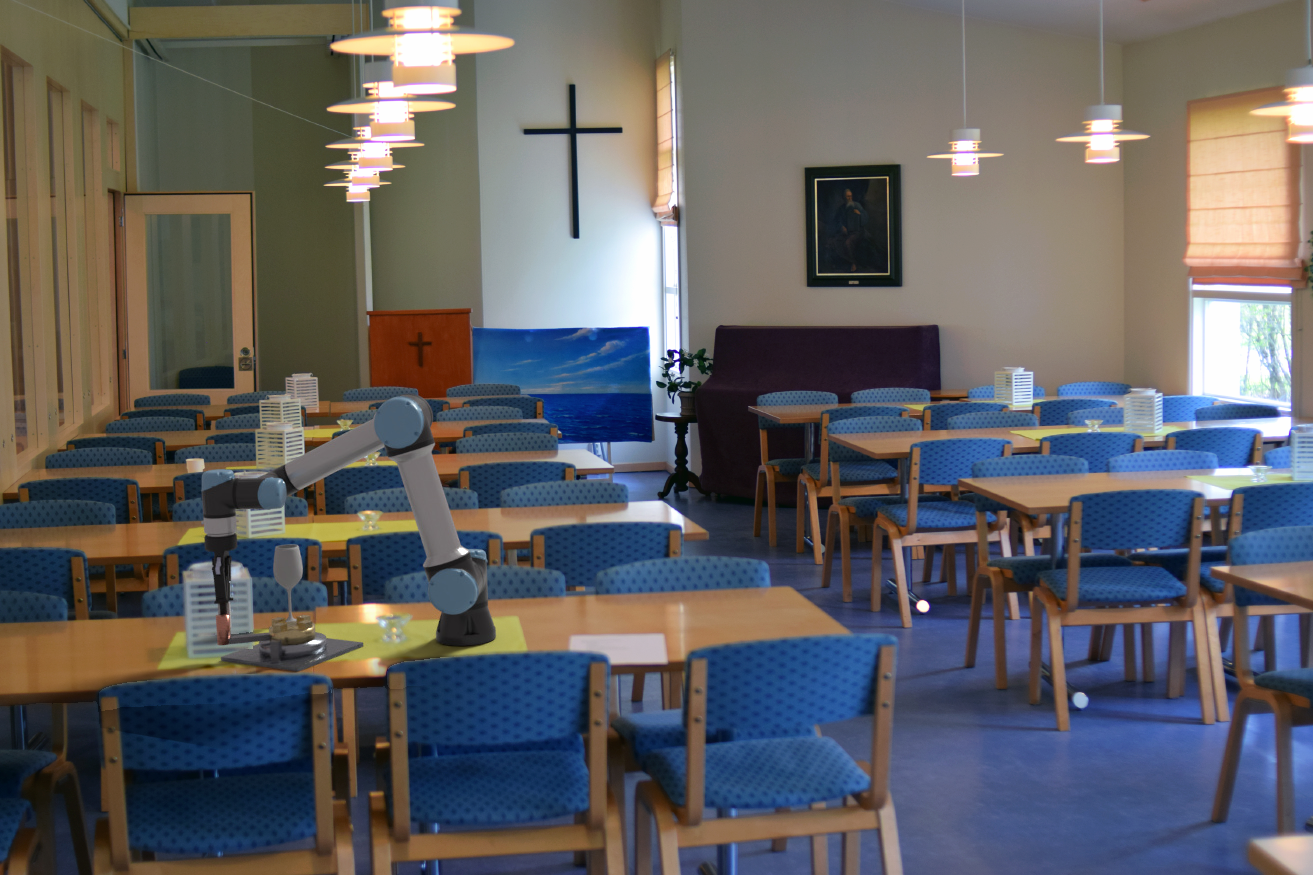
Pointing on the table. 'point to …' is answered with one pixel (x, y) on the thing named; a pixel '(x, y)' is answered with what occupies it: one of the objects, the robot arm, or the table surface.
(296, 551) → the wineglass
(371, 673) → the table surface
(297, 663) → the housing
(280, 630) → the tan handled round piece
